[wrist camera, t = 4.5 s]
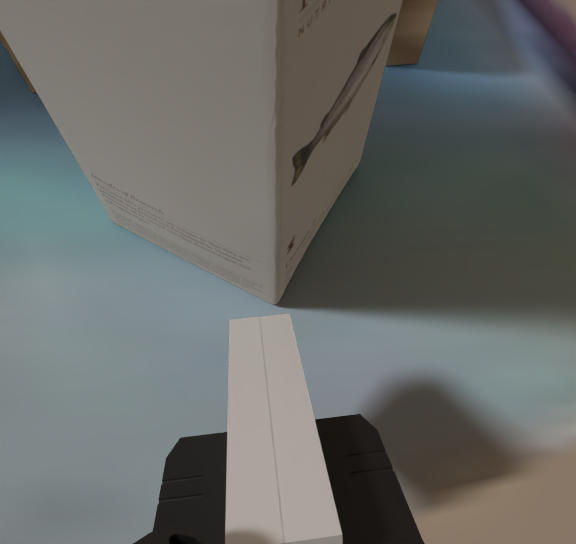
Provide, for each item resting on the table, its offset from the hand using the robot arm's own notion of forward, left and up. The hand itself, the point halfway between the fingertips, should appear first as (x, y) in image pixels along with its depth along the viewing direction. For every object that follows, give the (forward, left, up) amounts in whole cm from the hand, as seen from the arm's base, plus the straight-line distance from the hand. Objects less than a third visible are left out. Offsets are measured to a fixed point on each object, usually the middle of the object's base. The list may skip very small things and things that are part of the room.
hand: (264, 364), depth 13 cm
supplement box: (0, +8, -4) cm, 9 cm away
